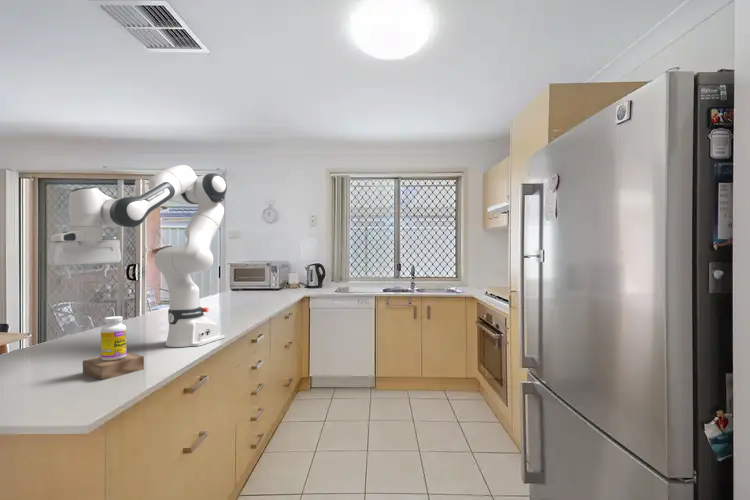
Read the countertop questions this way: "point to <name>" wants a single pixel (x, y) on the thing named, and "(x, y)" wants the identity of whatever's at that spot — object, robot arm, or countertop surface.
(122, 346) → the supplement bottle
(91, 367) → the walnut base
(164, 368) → the countertop surface
